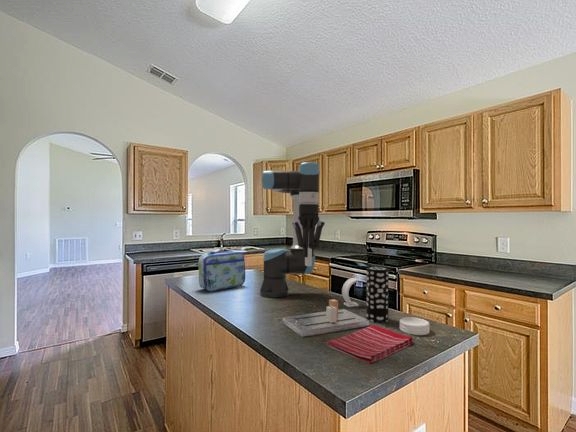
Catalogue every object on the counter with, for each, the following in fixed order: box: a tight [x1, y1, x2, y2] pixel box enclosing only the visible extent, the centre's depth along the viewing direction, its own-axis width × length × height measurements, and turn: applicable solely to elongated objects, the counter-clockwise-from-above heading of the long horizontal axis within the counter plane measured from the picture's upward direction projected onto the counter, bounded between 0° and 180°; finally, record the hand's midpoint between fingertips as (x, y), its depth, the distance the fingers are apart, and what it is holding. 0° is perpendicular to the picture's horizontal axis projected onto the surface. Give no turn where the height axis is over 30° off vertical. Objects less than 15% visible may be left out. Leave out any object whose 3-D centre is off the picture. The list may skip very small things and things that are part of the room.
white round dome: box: [399, 316, 431, 336], centre depth 113 cm, size 10×10×4 cm
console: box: [282, 308, 370, 338], centre depth 119 cm, size 16×28×2 cm, turn 114°
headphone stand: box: [341, 277, 359, 308], centre depth 145 cm, size 5×6×12 cm
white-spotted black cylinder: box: [365, 266, 390, 324], centre depth 125 cm, size 8×8×20 cm
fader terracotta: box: [328, 298, 339, 314], centre depth 125 cm, size 3×2×5 cm
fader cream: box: [325, 305, 337, 323], centre depth 115 cm, size 3×2×5 cm
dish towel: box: [325, 324, 414, 365], centre depth 100 cm, size 17×24×3 cm
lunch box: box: [197, 250, 246, 293], centre depth 178 cm, size 26×11×21 cm, turn 130°
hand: (308, 265), depth 121 cm, fingers closed
